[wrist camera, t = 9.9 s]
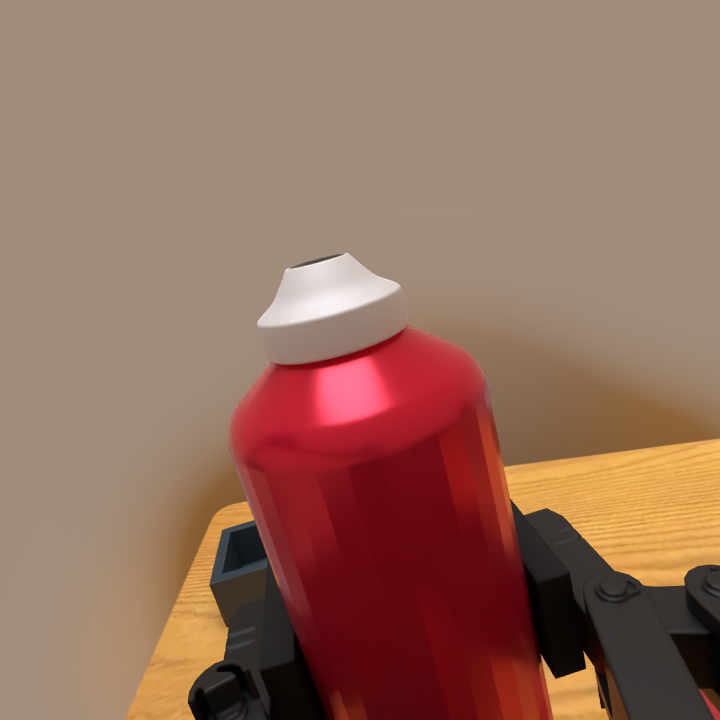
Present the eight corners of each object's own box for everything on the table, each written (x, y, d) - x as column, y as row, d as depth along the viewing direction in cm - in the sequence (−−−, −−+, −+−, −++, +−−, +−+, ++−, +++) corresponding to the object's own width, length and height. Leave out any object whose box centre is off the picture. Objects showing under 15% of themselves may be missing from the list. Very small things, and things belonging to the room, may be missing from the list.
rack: (476, 548, 46) (466, 505, 45) (226, 626, 45) (209, 584, 44) (448, 500, 55) (439, 463, 53) (236, 566, 53) (221, 529, 52)
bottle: (617, 1088, 12) (444, 244, 7) (394, 1035, 14) (110, 323, 8) (579, 820, 17) (463, 216, 12) (419, 804, 19) (253, 268, 13)
